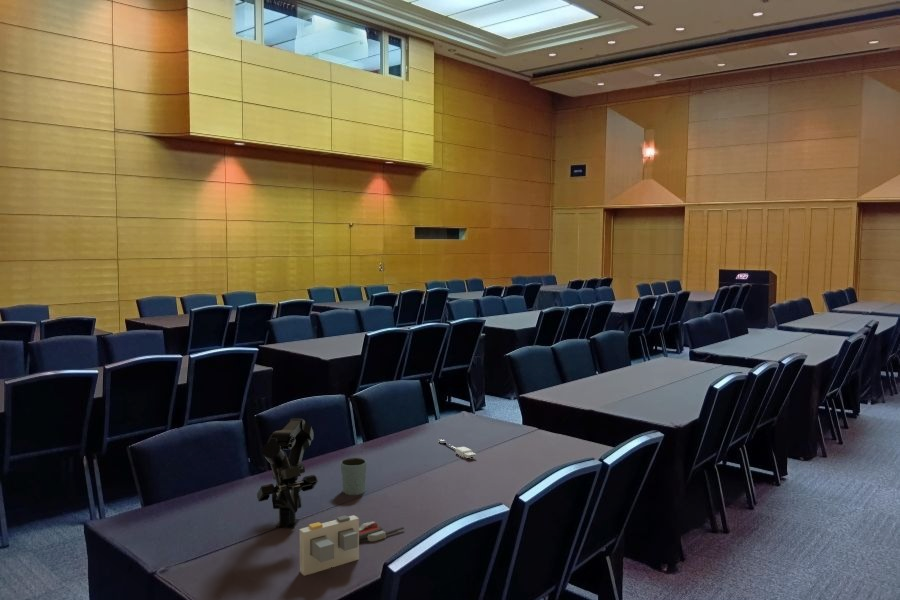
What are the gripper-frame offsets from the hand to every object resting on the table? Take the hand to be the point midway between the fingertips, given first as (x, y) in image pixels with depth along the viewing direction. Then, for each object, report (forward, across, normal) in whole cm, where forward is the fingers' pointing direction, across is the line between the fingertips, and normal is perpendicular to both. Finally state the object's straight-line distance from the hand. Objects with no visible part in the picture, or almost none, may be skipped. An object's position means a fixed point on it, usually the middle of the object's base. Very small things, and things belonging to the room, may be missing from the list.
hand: (295, 512), depth 211 cm
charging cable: (-28, +104, +46) cm, 117 cm away
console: (+20, +4, -2) cm, 20 cm away
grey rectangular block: (+18, -1, -8) cm, 20 cm away
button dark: (+16, +8, -7) cm, 19 cm away
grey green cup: (-15, +40, +34) cm, 54 cm away
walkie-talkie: (+13, +25, +6) cm, 29 cm away
